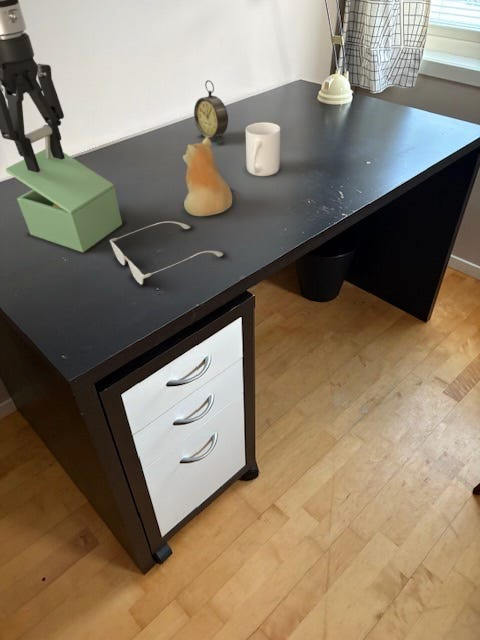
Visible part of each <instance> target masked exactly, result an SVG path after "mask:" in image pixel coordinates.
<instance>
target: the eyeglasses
mask: <svg viewBox="0 0 480 640" xmlns="http://www.w3.org/2000/svg"><path fill="white" fill-rule="evenodd" d="M167 223H170V224H175V225H179V226H180V227H181V228H182V229H184V230H188V229H190V228H191V226H190V225H189V224H186V223H184V222H179V221H172V220H171V221H170V220H169V221H168V220H167V221H166V220H165V221H160V222H157V223H156V222H155V223H154V224H151V225H148V226H146V227H142V228H140V229H137V230H134V231H132V232H129V233H127V234H124V235H122V236H120V237H114V238H111V239H109V243H110V245H111V249H112V251H113V253H114V255H115V257H116V259H117V260H118V262H119V263H120V264H121V265H122V266H125V265H126V262H127V263H128V266H129V269H130V272H131V274H132V276H133V278H134V279H135V281H136V282H137V283H139V285H143V284H144V279H147V278H149V277H151V276H152V275H153V274H156V273H158V272H160V271H163V270H166V269H168V268H171V267H173V266H175V265H178V264H180V263H183V262H184V261H187V260H189V259H193V258H194V257H195V256H198V255H200V254H204V253H211V254H214V255H215V256H216V257H218V258H220V257H223V255H224V253H223V252H221V251H219V250H204V251H200V252H197V253H195V254H193V255H191V256H189V257H187V258H186V259H183V260H181V261H179V262H177V263H174V264H171V265H169V266H166V267H164V268H161V269H159V270H157V271H154V272H148V273H146V274H144V273H142V271H141V270H140V269H139V268H138V267H137V266H136V265H135V264H134V263H133V262H132V261H131V260H130V259H129V258H128V257H127V256H126V255H125V254H124V253H123V252H122V250H121V249H120V248H119V247H118V246H117V244H115V243H114V242H116V241H118V240H119V239H122V238H123V237H126V236H128V235H131V234H133V233H136V232H138V231H141V230H144V229H147V228H149V227H152V226H156V225H160V224H167Z"/></svg>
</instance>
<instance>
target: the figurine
mask: <svg viewBox="0 0 480 640" xmlns="http://www.w3.org/2000/svg"><path fill="white" fill-rule="evenodd" d="M182 159H183V161H184V162H185V164H186V166H187V170H186V174H185V175H186V176H185V182H186V187H187V189H188V193H187V195H186V197H185V199H184V201H183V202H184V209H185V211H186V212H187V213H188V214H190V215H192V216H194V217H208V216H209V217H210V216H214V215H217V214H220V213H224V212H225V211H227V210H228V209H230V208H231V207H232V204H233V193H232V190H231V188H230V186H229V184H228V183H227V182H226V180H225V179H224V178H223V177H222V176H221V173H220V172H219V170H218V168H217V166H216V163H215V155H214V152H213V150H212V141H211V139H209V138H208V137H205V138H204V139H203V140H202V142H197V143H193V144H188V145H187V148H186V151H185V154H182Z"/></svg>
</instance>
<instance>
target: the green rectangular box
mask: <svg viewBox="0 0 480 640" xmlns="http://www.w3.org/2000/svg"><path fill="white" fill-rule="evenodd" d="M16 200H17V203H18V205H19V208H20V211H21V213H22V216H23V218H24V221H25V223H26V226H27V229H28V232H29V234H30V236H33V237H35V238H40V239H42V240H45V241H48V242H50V243H54V244H57V245H60V246H63V247H66V248H68V249H71V250H75V251H78V252H81V253H84V252H86V251H87V250H89V249H90V248H91V247H93V246H94V245H96V244H97V243H98V242H100V241H101V240H103V239H104V238H106V237H107V236H108V235H110V234H111V233H112V232H114V231H116V230H117V229H118V228H119V227H120V226H122V225H123V220H122V217H121V213H120V208H119V203H118V198H117V196H116V190H115V187H113V188H112V189H110V190H108V191H107V192H105V193H104V194H102V195H101V196H99V197H97V198H96V199H94V200H93V201H91V202H89V203H88V204H86V205H85V206H83V207H82V208H80V209H78V210H77V211H75V212H74V213H72V214H70V213H68V212H67V211H65V210H62V209H59V208H55V207H52V206H53V205H54V204H55V203H53V202H52V201H50V200H48V199H47V198H45V197H44V196H42V195H41V194H39V193H38V192H36V191H35V190H33V189H31V190H29V191H27V192H26V193H23V194H22V195H20V196H19V197H17V198H16Z"/></svg>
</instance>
